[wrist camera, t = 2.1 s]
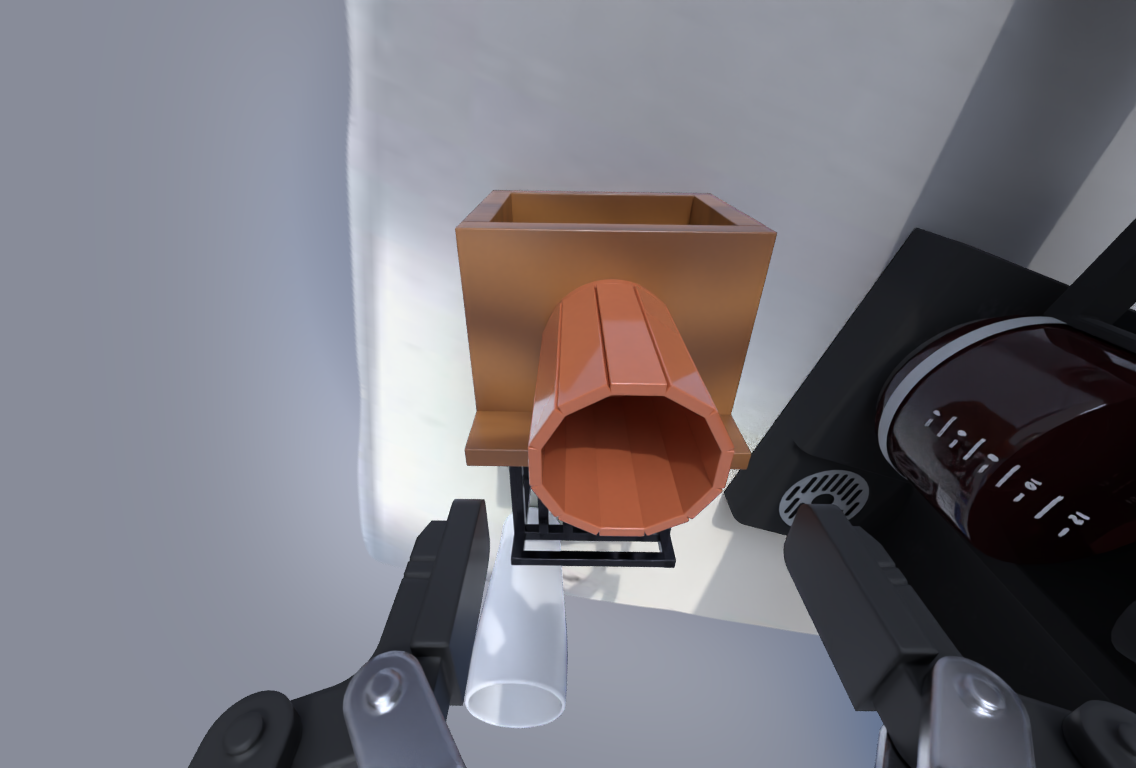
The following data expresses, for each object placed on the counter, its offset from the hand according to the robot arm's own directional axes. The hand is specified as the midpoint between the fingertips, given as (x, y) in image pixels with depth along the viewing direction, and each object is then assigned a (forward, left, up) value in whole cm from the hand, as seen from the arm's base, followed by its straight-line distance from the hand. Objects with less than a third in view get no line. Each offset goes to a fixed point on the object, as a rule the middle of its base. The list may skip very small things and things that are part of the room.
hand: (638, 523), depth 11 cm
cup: (0, 0, -11) cm, 10 cm away
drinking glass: (+24, -5, -21) cm, 32 cm away
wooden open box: (0, 0, -21) cm, 21 cm away
